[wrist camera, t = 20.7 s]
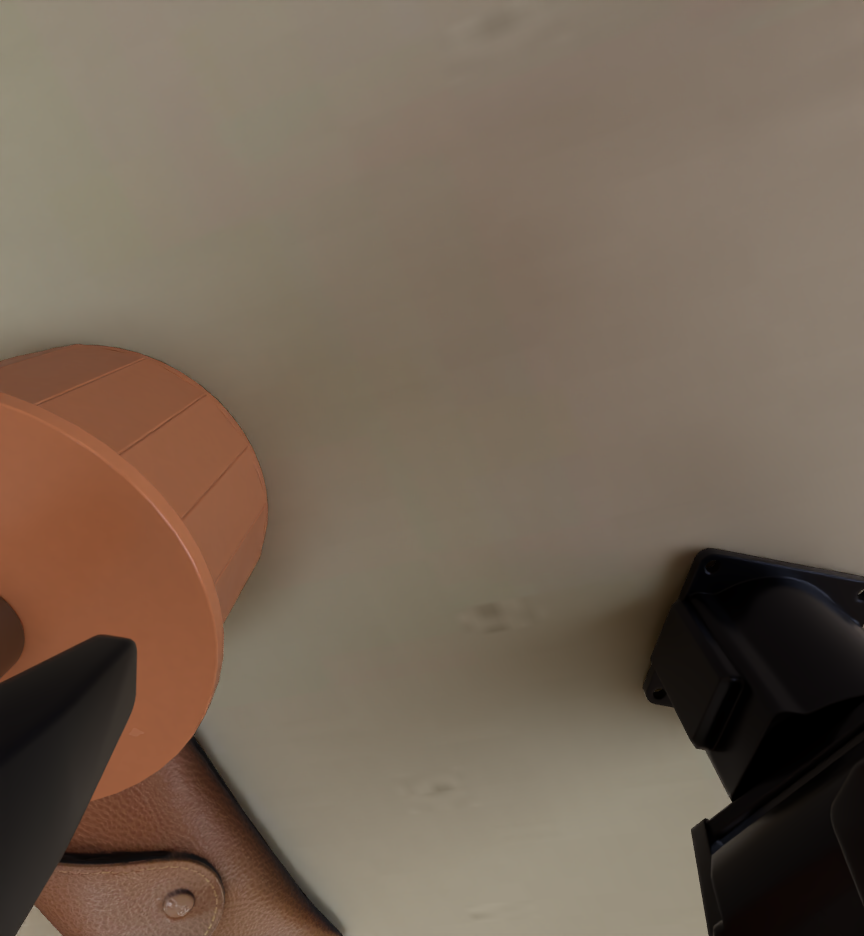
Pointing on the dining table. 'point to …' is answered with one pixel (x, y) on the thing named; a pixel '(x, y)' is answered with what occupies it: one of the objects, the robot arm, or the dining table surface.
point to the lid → (104, 580)
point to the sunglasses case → (175, 865)
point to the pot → (160, 444)
